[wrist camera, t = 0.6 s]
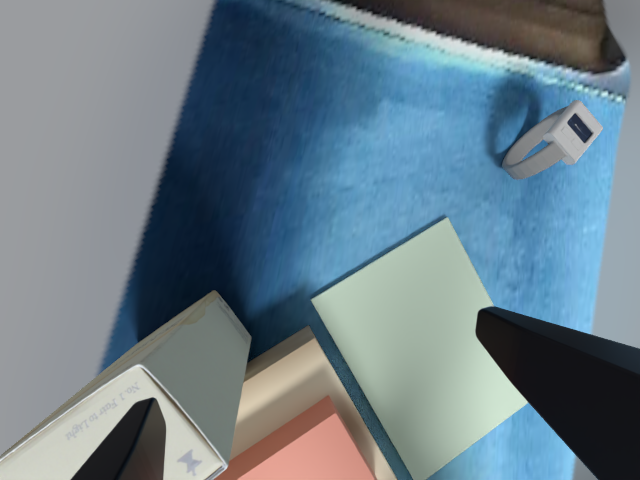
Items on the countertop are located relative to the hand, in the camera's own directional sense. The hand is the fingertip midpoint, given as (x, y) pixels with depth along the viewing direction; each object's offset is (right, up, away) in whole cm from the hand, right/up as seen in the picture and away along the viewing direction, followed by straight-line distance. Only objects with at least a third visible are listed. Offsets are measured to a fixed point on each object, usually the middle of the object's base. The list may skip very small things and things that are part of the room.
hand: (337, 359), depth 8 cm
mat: (+8, -5, +15) cm, 18 cm away
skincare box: (-9, -4, +13) cm, 16 cm away
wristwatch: (+15, +10, +17) cm, 25 cm away
